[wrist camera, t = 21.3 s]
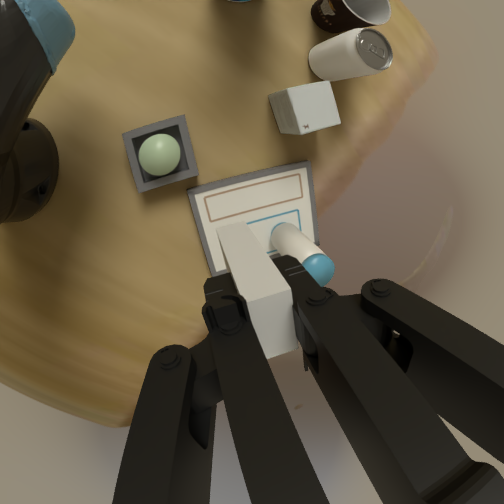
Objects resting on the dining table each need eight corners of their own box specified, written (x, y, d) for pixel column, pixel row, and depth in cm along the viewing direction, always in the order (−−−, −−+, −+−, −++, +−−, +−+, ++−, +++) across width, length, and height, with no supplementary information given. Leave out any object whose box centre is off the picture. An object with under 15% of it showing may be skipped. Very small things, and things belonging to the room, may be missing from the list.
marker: (271, 250, 43) (304, 294, 33) (265, 225, 41) (299, 265, 31) (297, 240, 44) (335, 281, 33) (292, 215, 41) (333, 251, 31)
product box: (316, 123, 37) (342, 125, 31) (279, 134, 37) (300, 136, 30) (304, 85, 34) (330, 79, 28) (266, 94, 34) (286, 88, 27)
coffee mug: (351, 45, 32) (391, 34, 24) (302, 30, 30) (336, 9, 21) (352, -6, 28) (388, -24, 19) (306, -24, 25) (337, -49, 17)
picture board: (211, 274, 43) (212, 277, 42) (186, 189, 37) (187, 190, 36) (316, 242, 46) (319, 245, 45) (307, 160, 39) (310, 161, 38)
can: (309, 38, 31) (354, 16, 20) (345, 51, 33) (396, 38, 22) (304, 75, 34) (350, 61, 23) (341, 86, 35) (393, 81, 25)
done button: (147, 176, 33) (145, 180, 31) (137, 140, 31) (134, 141, 28) (184, 165, 34) (184, 168, 31) (175, 129, 32) (174, 129, 29)
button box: (141, 188, 35) (138, 193, 32) (126, 133, 31) (121, 133, 29) (197, 171, 36) (199, 174, 34) (184, 115, 32) (184, 114, 30)
